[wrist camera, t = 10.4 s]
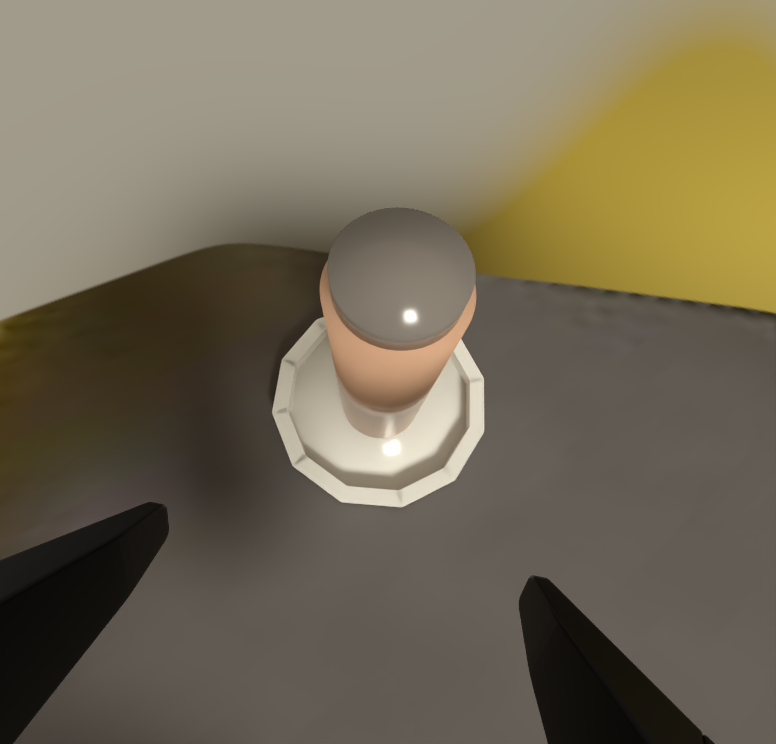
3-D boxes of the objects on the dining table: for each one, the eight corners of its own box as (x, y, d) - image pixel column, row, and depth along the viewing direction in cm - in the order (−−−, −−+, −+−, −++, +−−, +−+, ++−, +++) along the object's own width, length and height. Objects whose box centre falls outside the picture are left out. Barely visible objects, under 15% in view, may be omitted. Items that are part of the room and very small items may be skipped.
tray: (510, 380, 23) (519, 372, 22) (407, 550, 20) (410, 554, 18) (358, 284, 25) (358, 270, 24) (239, 425, 22) (230, 419, 20)
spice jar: (433, 410, 22) (521, 289, 10) (370, 453, 21) (379, 380, 9) (389, 351, 23) (420, 176, 11) (327, 390, 22) (283, 244, 10)
